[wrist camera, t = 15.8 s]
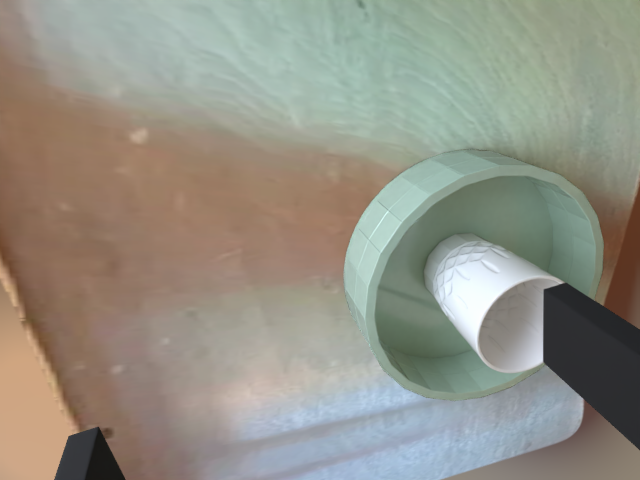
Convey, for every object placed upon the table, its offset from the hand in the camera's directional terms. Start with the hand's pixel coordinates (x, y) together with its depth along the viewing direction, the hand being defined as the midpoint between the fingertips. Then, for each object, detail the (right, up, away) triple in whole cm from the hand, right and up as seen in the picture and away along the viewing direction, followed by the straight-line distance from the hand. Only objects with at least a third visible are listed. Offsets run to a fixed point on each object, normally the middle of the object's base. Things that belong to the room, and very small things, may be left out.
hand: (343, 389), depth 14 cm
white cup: (+11, +2, +29) cm, 31 cm away
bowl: (+11, +2, +29) cm, 32 cm away
